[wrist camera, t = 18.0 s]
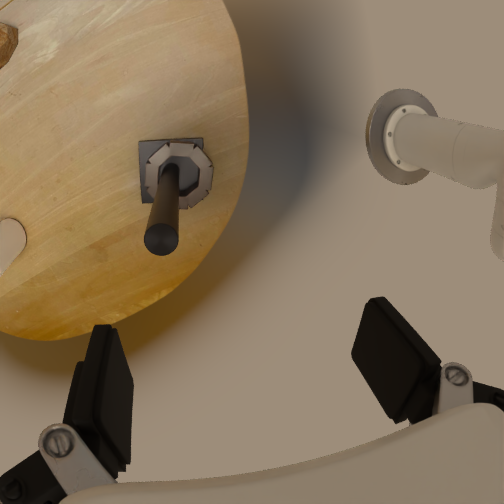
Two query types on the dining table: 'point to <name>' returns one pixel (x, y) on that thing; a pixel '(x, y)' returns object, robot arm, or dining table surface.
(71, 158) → the dining table surface
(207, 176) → the ring
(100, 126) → the dining table surface
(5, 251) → the can
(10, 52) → the bread
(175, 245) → the dark grey peg stand
